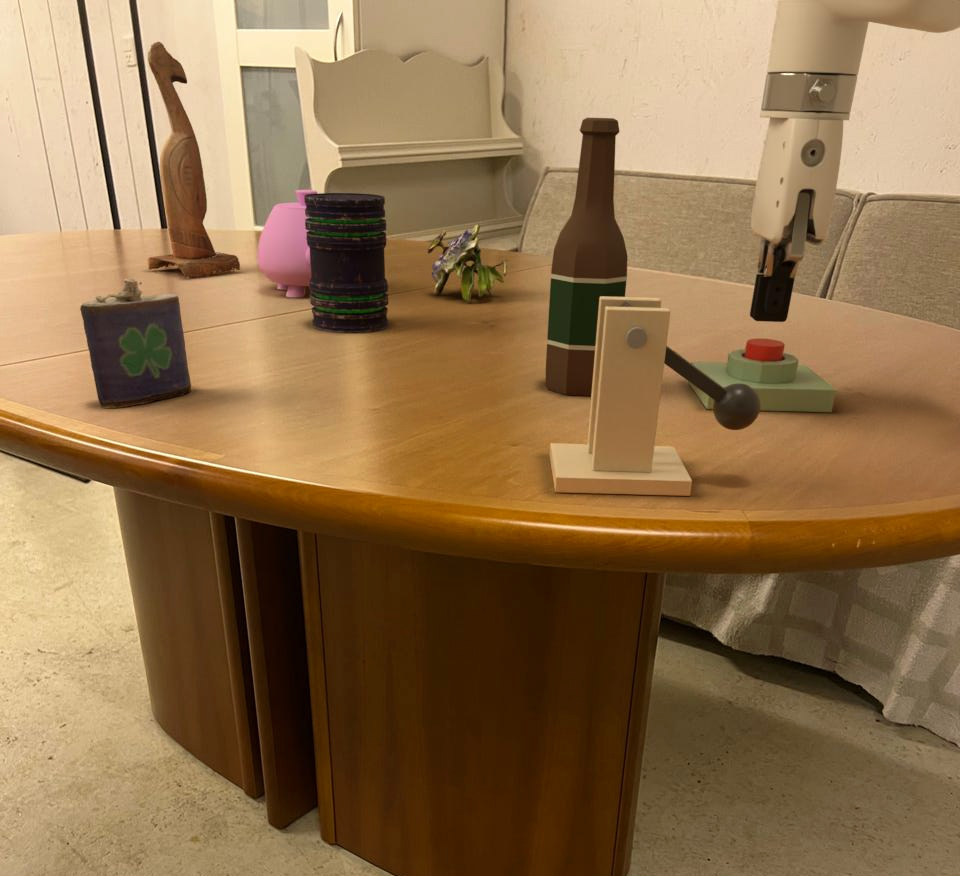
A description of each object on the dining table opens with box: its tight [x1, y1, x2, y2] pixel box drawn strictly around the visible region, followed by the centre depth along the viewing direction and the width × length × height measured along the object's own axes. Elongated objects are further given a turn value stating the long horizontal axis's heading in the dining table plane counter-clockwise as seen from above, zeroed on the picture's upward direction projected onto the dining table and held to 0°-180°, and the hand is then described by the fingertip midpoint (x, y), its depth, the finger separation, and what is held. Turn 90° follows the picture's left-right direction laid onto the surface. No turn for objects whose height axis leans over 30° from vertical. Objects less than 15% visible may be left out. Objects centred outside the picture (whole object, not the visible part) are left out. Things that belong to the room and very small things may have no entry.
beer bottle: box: [545, 117, 628, 397], centre depth 89 cm, size 8×8×24 cm
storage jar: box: [304, 192, 389, 334], centre depth 115 cm, size 10×10×15 cm
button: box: [744, 337, 786, 362], centre depth 91 cm, size 4×4×2 cm
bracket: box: [549, 296, 693, 497], centre depth 69 cm, size 10×8×13 cm
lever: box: [621, 301, 760, 431], centre depth 68 cm, size 13×3×3 cm
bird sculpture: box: [147, 41, 241, 279], centre depth 145 cm, size 11×12×32 cm
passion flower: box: [427, 224, 509, 304], centre depth 137 cm, size 11×11×12 cm
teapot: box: [256, 189, 318, 298], centre depth 135 cm, size 22×16×14 cm
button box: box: [687, 348, 837, 413], centre depth 92 cm, size 12×10×4 cm
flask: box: [79, 278, 192, 409], centre depth 85 cm, size 9×3×11 cm, turn 136°
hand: (767, 319), depth 89 cm, fingers closed
